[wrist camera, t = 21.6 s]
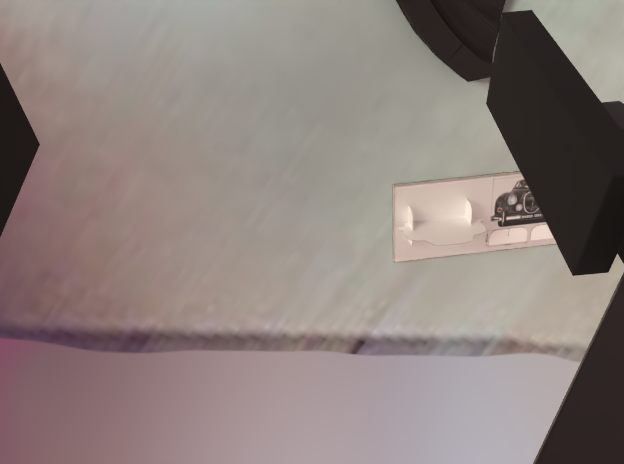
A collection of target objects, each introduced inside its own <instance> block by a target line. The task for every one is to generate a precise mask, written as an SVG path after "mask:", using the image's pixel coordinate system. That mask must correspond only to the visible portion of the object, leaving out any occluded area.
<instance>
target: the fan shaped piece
mask: <svg viewBox="0 0 624 464" xmlns="http://www.w3.org/2000/svg"><path fill="white" fill-rule="evenodd" d="M396 1H397V3H398V5H399V7H400V9H401V10H402V12H403V14H404V15H405V17H406V19H407V20H408V22H409V23H410V25H411V26H412V28H413V30H414V31H415V33H416V34H417V35H418V36H419V37H420V38H421V40H422V41H423V42H424V43H425V44H426V45H427V46H428V47H429V48H430V50H431V51H432V52H433V53H434V54H435V55H436V56H437V57H438V58H439V59H440V60H441V61H443V62H444V63H445V64H446V65H448V66H449V67H450V68H451V69H452V70H453V71H455V72H456V73H457V74H458V75H460V76H461V77H462V78H464V79H465V80H466V81H468V82H470V81H474V80H479V79H483V78H487V77H490V76H491V74H492V68H493V62H492V59H493V51H494V46H495V43H496V39H497V35H498V32H499V28H500V20H501V14H502V10H503V7H504V4H505V1H506V0H396Z"/></svg>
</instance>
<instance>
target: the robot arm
mask: <svg viewBox="0 0 624 464" xmlns="http://www.w3.org/2000/svg"><path fill="white" fill-rule="evenodd" d="M486 104H487V106H488V108H489V110H490V112H491V114H492V116H493V118H494V120H495V122H496V124H497V126H498V128H499V130H500V132H501V134H502V136H503V138H504V140H505V142H506V144H507V146H508V148H509V150H510V152H511V154H512V156H513V158H514V160H515V162H516V164H517V166H518V168H519V170H520V172H521V174H522V176H523V178H524V180H525V182H526V184H527V186H528V188H529V190H530V192H531V194H532V196H533V198H534V200H535V202H536V204H537V206H538V208H539V210H540V212H541V214H542V216H543V217H544V219H545V221H546V223H547V225H548V227H549V229H550V231H551V233H552V235H553V237H554V239H555V241H556V243H557V245H558V247H559V249H560V251H561V253H562V255H563V257H564V259H565V261H566V263H567V265H568V267H569V269H570V271H571V273H572V275H573V276H575V275H585V274H596V273H607V272H609V270H610V268H611V265H612V263H613V261H614V259H615V257H616V255H617V253H618V255H619V257H620V258H621V260H622V262H623V263H624V104H623V103H622V102H620V101H614V102H603V103H601V102H600V100H599V99H598V98H597V96H596V95H595V94H594V92H593V91H592V90H591V88H590V87H589V86H588V84H587V83H586V82H585V80H584V79H583V78H582V76H581V75H580V74H579V72H578V71H577V70H576V68H575V67H574V66H573V64H572V63H571V62H570V60H569V59H568V58H567V56H566V55H565V54H564V52H563V51H562V50H561V49H560V47H559V46H558V45H557V43H556V42H555V41H554V39H553V38H552V37H551V35H550V34H549V33H548V31H547V30H546V29H545V27H544V26H543V25H542V23H541V22H540V21H539V19H538V18H537V17H536V15H535V14H534V13H533V11H532V10H528V11H516V12H505V13H502V17H501V23H500V29H499V34H498V40H497V46H496V51H495V57H494V62H493V68H492V74H491V79H490V85H489V91H488V96H487V102H486ZM39 145H40V144H39V142H38V140H37V138H36V136H35V134H34V131H33V129H32V127H31V125H30V123H29V121H28V119H27V117H26V115H25V113H24V111H23V109H22V107H21V105H20V103H19V101H18V99H17V96H16V94H15V92H14V90H13V88H12V86H11V84H10V82H9V80H8V78H7V76H6V74H5V72H4V70H3V68H2V66H1V64H0V236H1V234H2V232H3V229H4V227H5V225H6V222H7V220H8V218H9V215H10V213H11V211H12V208H13V206H14V203H15V201H16V199H17V196H18V194H19V192H20V189H21V187H22V185H23V182H24V180H25V178H26V175H27V173H28V171H29V168H30V166H31V164H32V161H33V159H34V157H35V154H36V152H37V150H38V147H39ZM533 464H624V273H623V275H622V277H621V279H620V281H619V283H618V285H617V288H616V290H615V292H614V294H613V296H612V298H611V300H610V303H609V305H608V307H607V309H606V311H605V313H604V315H603V317H602V319H601V322H600V324H599V326H598V328H597V330H596V332H595V334H594V336H593V338H592V341H591V343H590V345H589V347H588V349H587V351H586V353H585V355H584V357H583V359H582V362H581V364H580V366H579V368H578V370H577V372H576V374H575V376H574V378H573V381H572V383H571V385H570V387H569V389H568V391H567V393H566V395H565V397H564V399H563V402H562V404H561V406H560V408H559V410H558V412H557V414H556V416H555V418H554V421H553V423H552V425H551V427H550V429H549V431H548V434H547V435H546V438H545V440H544V442H543V444H542V446H541V448H540V450H539V452H538V454H537V456H536V459H535V461H534V463H533Z"/></svg>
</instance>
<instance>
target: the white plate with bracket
mask: <svg viewBox="0 0 624 464" xmlns="http://www.w3.org/2000/svg"><path fill="white" fill-rule="evenodd" d="M551 244H557V243H556V241H555V239H554V237H553V235H552V233H551V231H550V229H549V227H548V225H547V223H546V221H545V219H544V217H543V216H542V214H541V212H540V210H539V208H538V206H537V204H536V202H535V200H534V198H533V196H532V194H531V192H530V190H529V188H528V186H527V184H526V182H525V180H524V178H523V176H522V174H521V172H520V171H519V172H509V173H500V174H490V175H481V176H471V177H462V178H452V179H443V180H433V181H424V182H414V183H405V184H395V185H393V260H394V262H402V261H410V260H419V259H428V258H437V257H445V256H454V255H463V254H472V253H481V252H489V251H498V250H507V249H516V248H525V247H533V246H542V245H551Z"/></svg>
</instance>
